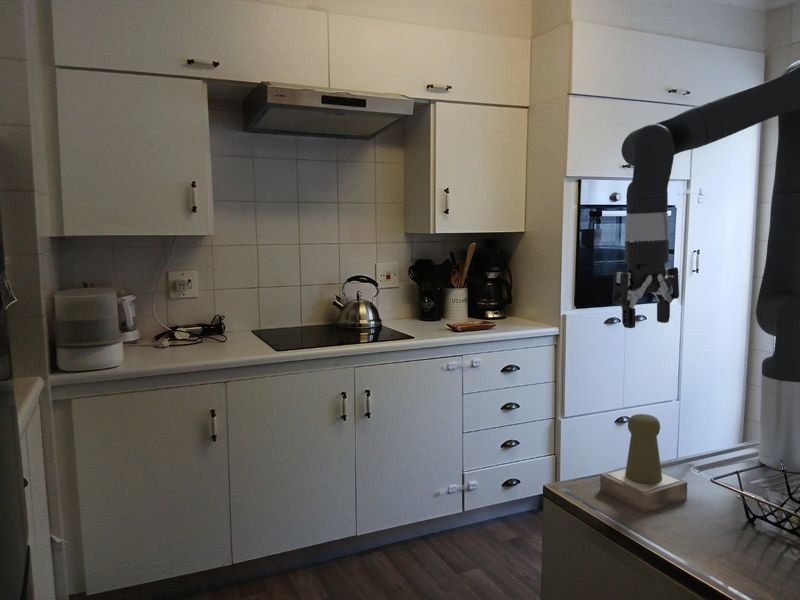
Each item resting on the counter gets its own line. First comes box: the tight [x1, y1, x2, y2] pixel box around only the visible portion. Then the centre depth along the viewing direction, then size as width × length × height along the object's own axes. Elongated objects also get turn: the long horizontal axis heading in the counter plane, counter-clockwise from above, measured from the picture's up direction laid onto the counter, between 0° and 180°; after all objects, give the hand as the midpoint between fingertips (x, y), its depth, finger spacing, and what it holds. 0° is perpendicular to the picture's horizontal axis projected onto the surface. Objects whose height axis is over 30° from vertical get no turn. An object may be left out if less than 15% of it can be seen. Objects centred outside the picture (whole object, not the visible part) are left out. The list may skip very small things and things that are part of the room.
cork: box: [625, 413, 662, 484], centre depth 107 cm, size 6×6×11 cm
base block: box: [599, 466, 688, 514], centre depth 107 cm, size 10×10×3 cm
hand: (646, 325), depth 115 cm, fingers open, 8 cm apart
